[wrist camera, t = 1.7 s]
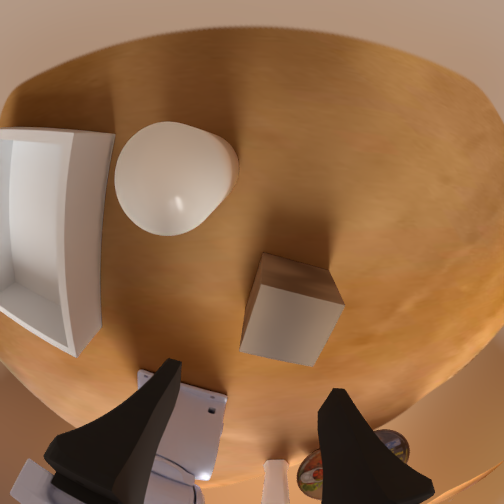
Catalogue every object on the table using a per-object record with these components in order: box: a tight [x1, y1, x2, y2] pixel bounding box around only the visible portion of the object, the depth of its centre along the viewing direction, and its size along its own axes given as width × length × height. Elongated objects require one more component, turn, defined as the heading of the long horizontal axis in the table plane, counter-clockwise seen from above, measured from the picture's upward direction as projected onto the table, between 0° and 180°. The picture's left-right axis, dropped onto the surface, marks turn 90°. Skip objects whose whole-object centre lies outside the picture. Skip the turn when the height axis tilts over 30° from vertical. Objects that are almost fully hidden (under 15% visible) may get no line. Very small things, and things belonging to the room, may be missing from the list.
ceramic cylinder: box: [115, 122, 239, 236], centre depth 14 cm, size 5×5×7 cm
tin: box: [297, 429, 410, 500], centre depth 24 cm, size 15×3×8 cm, turn 115°
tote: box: [0, 127, 116, 358], centre depth 17 cm, size 14×18×5 cm
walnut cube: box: [239, 252, 345, 367], centre depth 18 cm, size 5×5×5 cm
